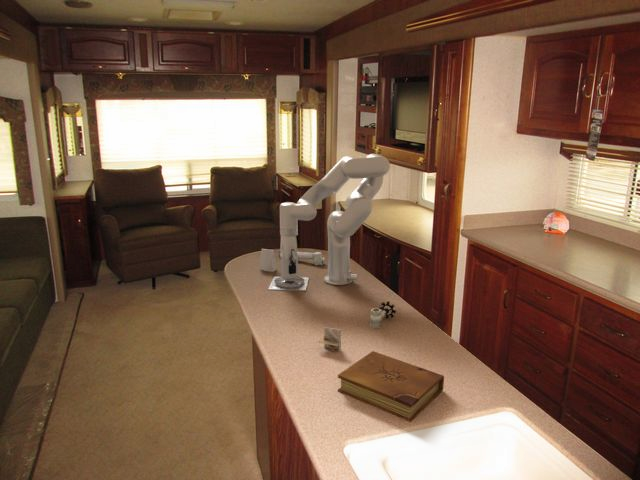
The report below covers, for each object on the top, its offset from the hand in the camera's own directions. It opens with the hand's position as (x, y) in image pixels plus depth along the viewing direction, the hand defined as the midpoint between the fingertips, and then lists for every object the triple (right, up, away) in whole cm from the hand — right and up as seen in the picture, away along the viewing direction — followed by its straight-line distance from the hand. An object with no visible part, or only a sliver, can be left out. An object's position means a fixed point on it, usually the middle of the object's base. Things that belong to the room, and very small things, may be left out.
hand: (289, 270), depth 227 cm
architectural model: (+17, -23, -57) cm, 64 cm away
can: (0, -3, +1) cm, 4 cm away
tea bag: (-11, -1, +20) cm, 23 cm away
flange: (0, -6, +2) cm, 6 cm away
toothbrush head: (+4, +2, +33) cm, 34 cm away
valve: (+35, -17, -37) cm, 54 cm away
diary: (+33, -30, -81) cm, 92 cm away
